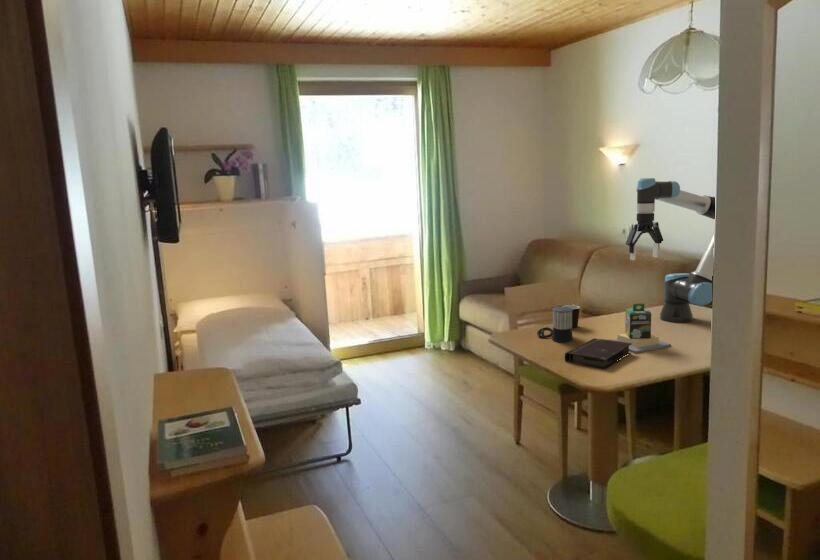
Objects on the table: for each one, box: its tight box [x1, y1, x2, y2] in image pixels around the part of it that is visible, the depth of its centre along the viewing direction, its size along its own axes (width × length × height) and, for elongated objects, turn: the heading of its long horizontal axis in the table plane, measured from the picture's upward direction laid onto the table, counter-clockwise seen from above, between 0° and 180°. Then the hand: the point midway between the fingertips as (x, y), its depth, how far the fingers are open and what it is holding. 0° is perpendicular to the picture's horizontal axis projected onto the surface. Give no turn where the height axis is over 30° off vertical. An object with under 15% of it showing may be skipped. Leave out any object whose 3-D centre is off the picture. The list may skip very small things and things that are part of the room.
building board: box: [612, 332, 672, 354], centre depth 267 cm, size 20×18×4 cm
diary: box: [564, 337, 632, 370], centre depth 252 cm, size 19×25×5 cm
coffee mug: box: [561, 304, 581, 329], centre depth 300 cm, size 12×9×10 cm
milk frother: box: [536, 306, 574, 344], centre depth 280 cm, size 14×16×15 cm
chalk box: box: [624, 302, 652, 339], centre depth 265 cm, size 9×9×15 cm
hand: (644, 258), depth 281 cm, fingers open, 13 cm apart
